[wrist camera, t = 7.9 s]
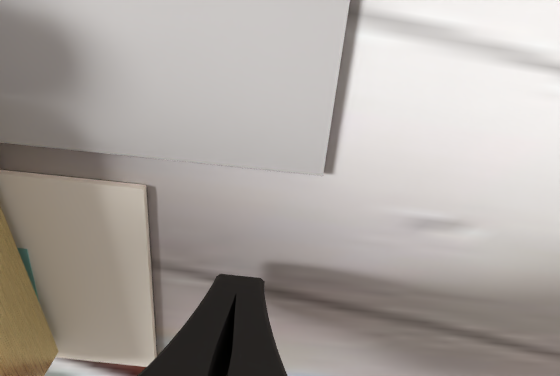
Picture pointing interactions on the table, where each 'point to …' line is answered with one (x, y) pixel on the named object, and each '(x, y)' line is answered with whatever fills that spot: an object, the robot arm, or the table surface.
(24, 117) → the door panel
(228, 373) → the robot arm
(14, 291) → the bar
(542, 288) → the table surface
